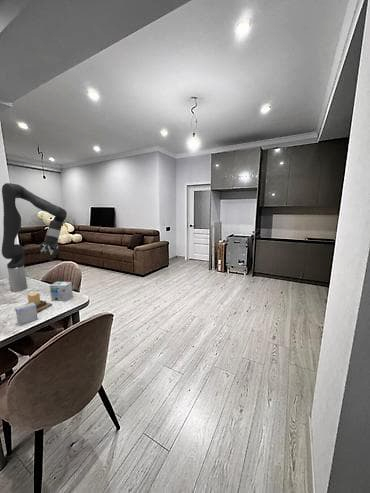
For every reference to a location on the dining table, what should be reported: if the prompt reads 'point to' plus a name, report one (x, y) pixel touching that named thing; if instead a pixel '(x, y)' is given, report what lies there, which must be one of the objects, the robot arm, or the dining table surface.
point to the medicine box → (26, 313)
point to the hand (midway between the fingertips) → (46, 259)
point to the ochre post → (34, 298)
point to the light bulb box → (61, 291)
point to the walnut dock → (42, 306)
